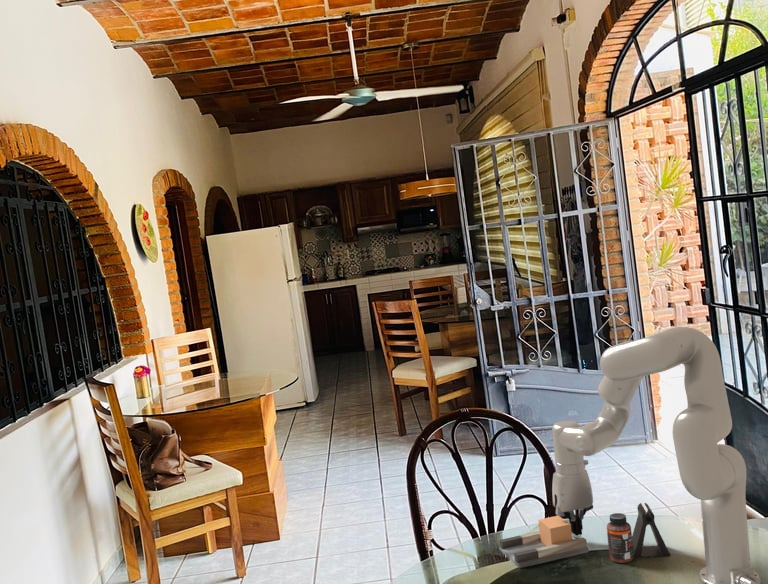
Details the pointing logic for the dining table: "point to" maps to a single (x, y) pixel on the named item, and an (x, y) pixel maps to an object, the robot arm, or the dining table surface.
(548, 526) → the block
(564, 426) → the robot arm
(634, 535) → the dark a-frame stand
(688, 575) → the dining table surface
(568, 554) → the chute
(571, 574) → the dining table surface
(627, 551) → the supplement bottle
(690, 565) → the dining table surface
